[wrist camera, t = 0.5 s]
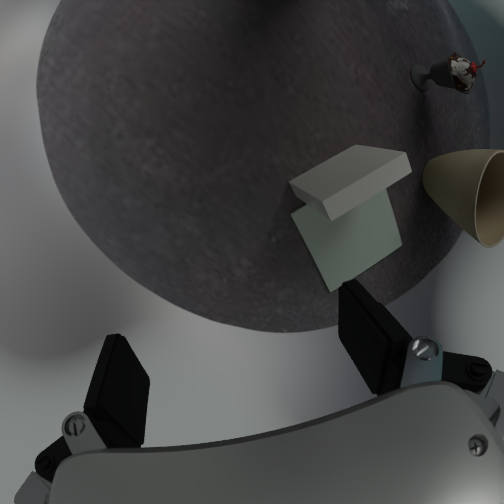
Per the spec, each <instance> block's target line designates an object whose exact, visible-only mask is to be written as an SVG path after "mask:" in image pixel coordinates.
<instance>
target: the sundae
mask: <svg viewBox="0 0 504 504" xmlns="http://www.w3.org/2000/svg"><path fill="white" fill-rule="evenodd" d="M484 63H485V60H483V63H482V65H481V66H477V65H476V64H475V63H474V62H472V63H470V62H469V61H468V60H467V59H464V58H462V56H461V55H459V54H458V53H455V52H453V53H452V54H450V55H449V56H448V57H447V59H446V60H443V61H440V62H438V63H436V64H434V65H432V67H431V70H430V73H428V72H427V71H426V69H425V68H424V67H423V66H421V65H419V64H415V65H413V66H412V68H411V78H412V81H413V83H414V84H415V86H416V87H417V88H419V89H420V90H427V89H428V88H429V86H430V79H433V81H434V82H435V83H436V84H437V85H439V86H442V87H447V88H455V89H456V90H458V91H459V92H461V93H464V94H469V93H470V92H471V89H472V85H473V82H474V81H475V79H476V71H477V68H480V67H482V66H483V64H484Z"/></svg>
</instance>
